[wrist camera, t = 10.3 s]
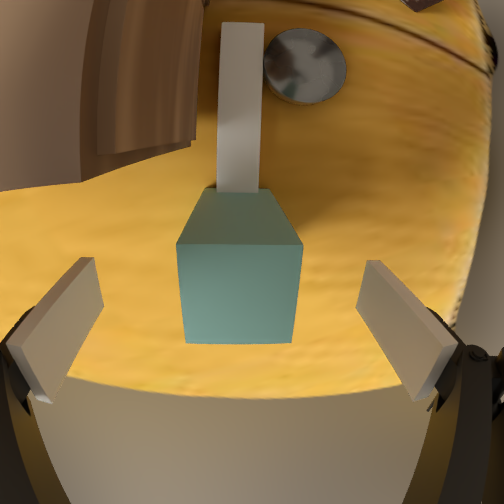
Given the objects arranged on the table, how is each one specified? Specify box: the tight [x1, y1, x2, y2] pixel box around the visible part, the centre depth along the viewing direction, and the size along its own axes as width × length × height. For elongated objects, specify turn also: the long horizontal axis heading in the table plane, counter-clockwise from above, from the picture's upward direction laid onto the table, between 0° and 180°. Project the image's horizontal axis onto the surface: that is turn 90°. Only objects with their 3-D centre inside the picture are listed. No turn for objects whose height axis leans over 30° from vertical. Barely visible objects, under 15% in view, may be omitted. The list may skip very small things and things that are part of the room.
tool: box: [176, 22, 303, 344], centre depth 15 cm, size 5×18×12 cm, turn 178°
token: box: [263, 28, 346, 105], centre depth 18 cm, size 6×6×2 cm
